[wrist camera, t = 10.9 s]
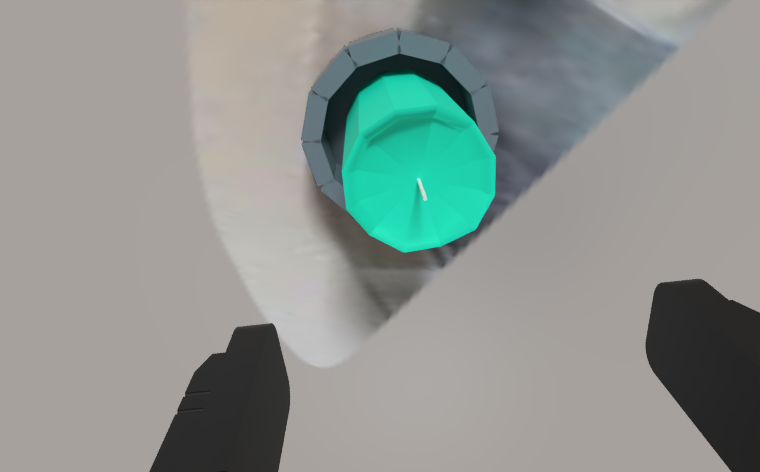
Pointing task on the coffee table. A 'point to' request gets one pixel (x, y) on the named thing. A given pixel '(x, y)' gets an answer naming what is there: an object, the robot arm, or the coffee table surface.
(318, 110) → the candle dish
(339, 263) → the coffee table surface
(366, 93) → the candle
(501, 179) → the coffee table surface
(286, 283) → the coffee table surface
